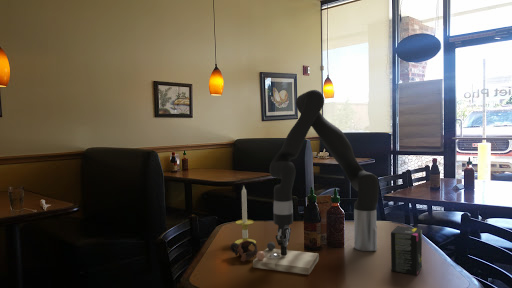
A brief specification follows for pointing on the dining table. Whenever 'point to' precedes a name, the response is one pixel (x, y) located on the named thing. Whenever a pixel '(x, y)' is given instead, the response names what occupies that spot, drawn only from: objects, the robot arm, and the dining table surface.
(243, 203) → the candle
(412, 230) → the tampon box
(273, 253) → the steel ball
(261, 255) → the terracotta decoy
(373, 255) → the dining table surface
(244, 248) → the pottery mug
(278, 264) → the board
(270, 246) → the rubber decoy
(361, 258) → the dining table surface
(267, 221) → the dining table surface
